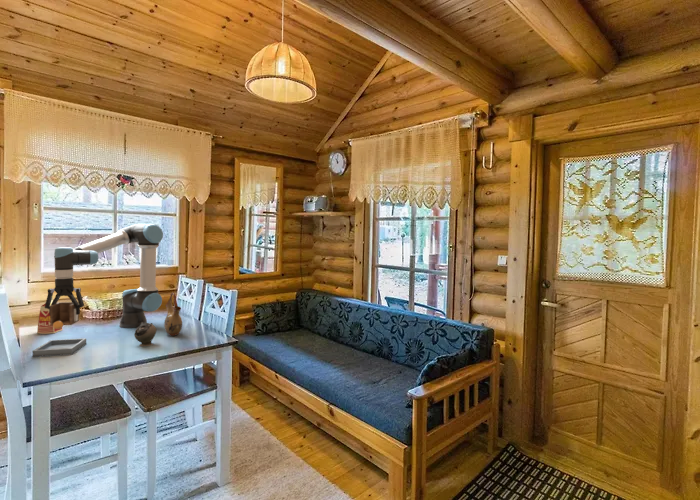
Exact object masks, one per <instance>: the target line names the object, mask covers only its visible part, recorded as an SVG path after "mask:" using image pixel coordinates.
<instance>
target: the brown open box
mask: <svg viewBox="0 0 700 500" xmlns="http://www.w3.org/2000/svg"><path fill="white" fill-rule="evenodd" d="M78 304H79V302H78ZM74 309H75V306H74V304H73V303H72V301H69V302H68V301H65V302H57V303H56V304H54V305H51V306H50V325H51V326H53V324H54V323H55V322H56V321H61V322H62V323H63V326H72V325H74V324H75V323H77V322H79V321H80V314H79V315H78V321H75V322H74Z"/></svg>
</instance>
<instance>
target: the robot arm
mask: <svg viewBox="0 0 700 500" xmlns="http://www.w3.org/2000/svg"><path fill="white" fill-rule="evenodd" d="M163 237H164V232H163V229H162V228H161V227H160V226H159V225H157V224H153V223H135V224H132V225H130V226H126V227H124V228H121V229H118V231H117V232H115V233H113V234H110V235H107V236H104V237H102V238H99V239H95V240H93V241H90V242H88V243H85V244H82V245H79V246H76V247H74V248H73V247H69V246H68V247H56V248H55V249H54V257H53V258H54V278H55V279H54V288H48V289H47V297H46V299H45V300H46V301H45V302H46V304H45V303H44V304H45V308H47V309H49V315H50V306H51V305H54V304H56V303H58V302H59V300H60V298H61V297H68V298H69V300H70V302H72V303H73V304H74V306H75V309H74V322H75V321H77V322H79V321H78V315H79V316H80V314H81V308H82V307H84V306H85V304H84V300H83V297H82V293H81V292H82V291H81V290H82V288H81V287H77V288H76V287H74V286H75V285H74V266H85V265H87V266H88V265H89V266H90V265H95V264H97V263H98V262H99V254H101V253H103V252H106V251H109V250H111V249H114V248H117V247H118V246H121V245H128V244H132V243H137V246H138V247H139V248H140V254H139V255H140V262H139V263H140V264H139V266H140V267H139V268H140V269H139V271H140V272H139V288H134V289H133V288H132V289H125V290H124V291H122V296H121V297H122V314H121V315H122V316H121V318H120V320H119V327H120V328H123V329H124V328H127V329H129V328H138V327H139V326H140V325H141V322H144V323H148V320H147V317H146V315H145V314H146V313H145V312H147V313H148V312H151V313H152V312H156V311H157V310H158V309H159V308H160V307H161V305H162V303H163V298H162V295H161V294H160V293H159V288H158V287H156V281H157V280H156V277H157V276H156V275H157V248H158V247H159V246H160V242H161V241H162V240H163ZM54 292H55V293H56V295H55V296H54V298H53V295H54ZM73 292H74V293H75V294H74V293H73ZM75 295H76V298H75ZM52 298H53V302H52V304H51V300H52ZM78 303H79V304H78ZM50 304H51V305H50Z"/></svg>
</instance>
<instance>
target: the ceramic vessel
mask: <svg viewBox="0 0 700 500" xmlns="http://www.w3.org/2000/svg"><path fill="white" fill-rule="evenodd" d="M172 300H173V301H174V303H173V302H172ZM172 303H173V304H174V305H173V304H172ZM165 307H166V310H167V314H166V316H165V318H164V323H163V325H164V330H165V332H166V334H168V336H170V335H171V336H172V337H174V336H175V335H176V336H177V335H179V334H180V332H181V331H182V328H183V320H182V317H181V316H180V311H181V310H182V308H181V306H178V300H177V295H176V294H175V292H171V293H170V295H169V299H168V301H167V302H166V304H165ZM171 336H170V337H171ZM176 336H175V337H176Z"/></svg>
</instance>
